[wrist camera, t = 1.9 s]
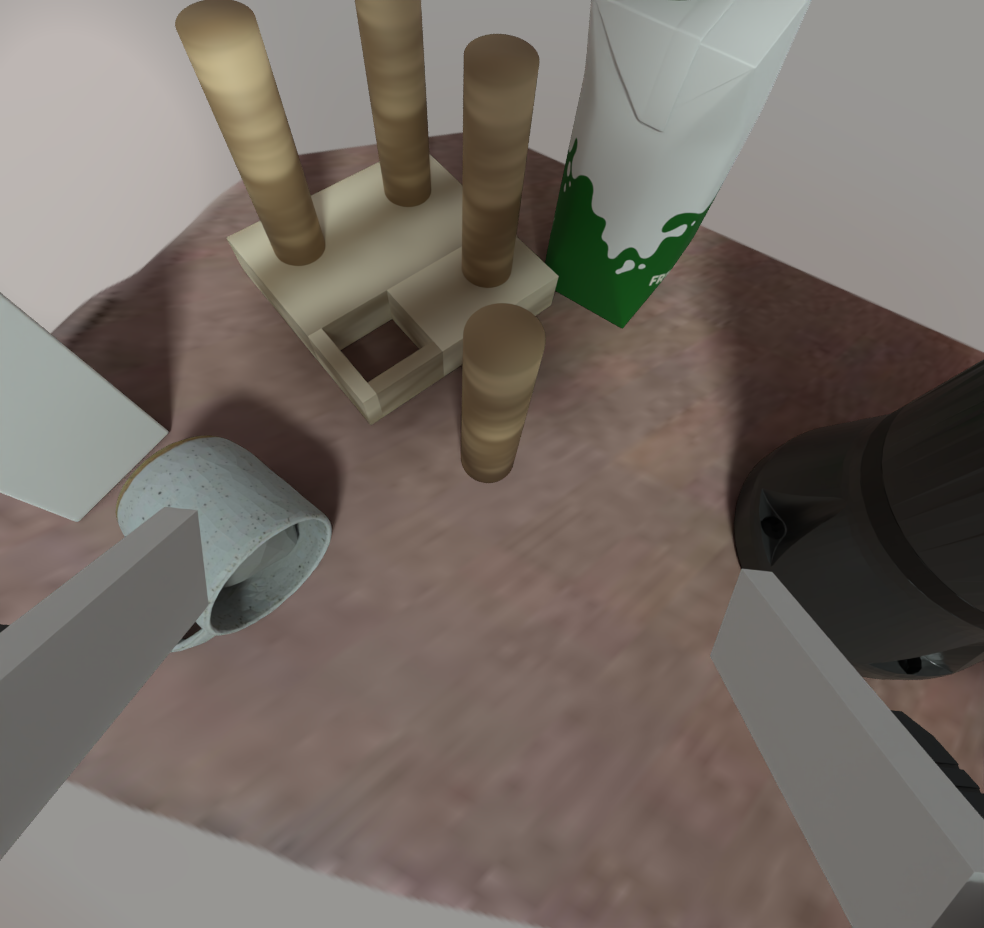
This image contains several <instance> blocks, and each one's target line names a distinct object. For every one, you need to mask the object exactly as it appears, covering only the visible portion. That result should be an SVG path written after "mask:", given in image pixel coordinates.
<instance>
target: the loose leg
mask: <svg viewBox="0 0 984 928" xmlns="http://www.w3.org/2000/svg"><path fill="white" fill-rule="evenodd" d="M545 342H546V336H545V331H544V328H543V326H542V324H541V323H540V321H539V320H538V319H537V318H536V316H535V315H533V314H532V313H531V312H530V311H528V310H526V309H524V308H523V307H520V306H517V305H514V304H508V303H496V304H491V305H487V306H485V307H482V308H480V309H479V310H477V311H476V312H474V313H473V314H472V315H471V316H470V318H469V319H468V321H467V322H466V324H465V327H464V331H463V370H462V438H461V462H462V466H463V468H464V470H465V471H466V473H467V474H468V475H469V476H470V477H471V478H473V479H475V480H477V481H479V482H483V483H493V482H497V481H500V480H502V479H503V478H505V477H506V476H507V475H508V474H509V472H510V471H511V469H512V467H513V464H514V460H515V456H516V452H517V449H518V445H519V441H520V437H521V434H522V430H523V426H524V422H525V419H526V415H527V411H528V408H529V404H530V400H531V396H532V393H533V389H534V385H535V381H536V378H537V374H538V370H539V366H540V363H541V359H542V355H543V352H544V348H545Z"/></svg>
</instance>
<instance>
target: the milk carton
mask: <svg viewBox="0 0 984 928" xmlns="http://www.w3.org/2000/svg"><path fill="white" fill-rule="evenodd" d="M168 433H169V432H168V430H167V429H165V428H164V427H163V426H162V425H160V424H159V423H158V422H157V421H156V420H154V419H153V418H152V417H151V416H150V415H148V414H147V413H146V412H145V411H144V410H142V409H141V408H140V407H139V406H137V405H136V404H135V403H134V402H133V401H131V400H130V399H129V398H128V397H127V396H125V395H124V394H123V393H122V392H120V391H119V390H118V389H117V388H116V387H114V386H113V385H112V384H111V383H110V382H108V381H107V380H106V379H105V378H103V377H102V376H101V375H100V374H99V373H97V372H96V371H95V370H94V369H93V368H91V367H90V366H89V365H88V364H86V363H85V362H84V361H83V360H82V359H80V358H79V357H78V356H77V355H76V354H74V353H73V352H72V351H71V350H70V349H68V348H67V347H66V346H65V345H63V344H62V343H61V342H60V341H59V340H57V339H56V338H55V337H54V336H53V335H51V334H50V333H49V332H48V331H46V330H45V329H44V328H43V327H41V326H40V325H39V324H38V323H37V322H36V321H34V320H33V319H32V318H31V317H29V316H28V315H27V314H26V313H25V312H23V311H22V310H21V309H20V308H18V307H17V306H16V305H15V304H13V303H12V302H11V301H10V300H9V299H8V298H6V297H5V296H4V295H3V294H2V293H0V492H1V493H3V494H6V495H8V496H11V497H14V498H16V499H19V500H21V501H24V502H26V503H29V504H32V505H34V506H37V507H39V508H42V509H44V510H47V511H50V512H52V513H55V514H57V515H60V516H63V517H65V518H68V519H70V520H73V521H76V522H78V521H80V520H81V519H82V518H83V517H84V516H85V515H86V514H87V513H88V512H89V511H90V510H91V509H92V508H93V507H94V506H95V505H96V504H97V503H98V502H99V501H100V500H101V499H102V498H103V497H104V496H105V495H106V494H107V493H108V492H109V491H110V490H111V489H112V488H113V487H114V486H115V485H116V484H117V483H118V482H119V481H120V480H122V479H123V478H124V477H125V476H126V475H127V474H128V473H129V472H130V471H131V470H132V469H133V468H134V467H135V466H136V465H137V464H138V463H139V462H140V461H141V460H142V459H143V458H144V457H145V456H146V455H147V454H148V453H149V452H150V451H151V450H152V449H153V448H154V447H155V446H156V445H157V444H158V443H159V442H160V441H161V440H162V439H163V438H164V437H165V436H166V435H167V434H168Z"/></svg>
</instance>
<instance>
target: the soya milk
mask: <svg viewBox="0 0 984 928" xmlns="http://www.w3.org/2000/svg"><path fill="white" fill-rule="evenodd" d="M810 3H811V0H591V10H590V20H589V33H588V44H587V56H586V66H585V74H584V78H583V83H582V88H581V93H580V98H579V102H578V107H577V112H576V116H575V121H574V126H573V131H572V135H571V140H570V145H569V150H568V154H567V159H566V164H565V168H564V173H563V178H562V183H561V187H560V192H559V197H558V202H557V206H556V211H555V216H554V221H553V225H552V230H551V235H550V240H549V245H548V250H547V255H546V260H545V264H546V265H547V266H548V267H549V268H550V269H551V270H553V271H554V272H555V273H556V274H557V275H558V276H559V277H558V281H557V284H556V288H555V291H557V292H558V293H560V294H562V295H564V296H565V297H567V298H569V299H571V300H572V301H574V302H576V303H578V304H579V305H581V306H583V307H585V308H587V309H588V310H590V311H592V312H594V313H595V314H597V315H599V316H601V317H602V318H604V319H606V320H608V321H609V322H611V323H613V324H615V325H617V326H618V327H620V328H622V329H623V327H624V326H625V325H626V324H627V323H628V321H629V320H630V319H631V318H632V317H633V315H634V314H635V313H636V312H637V311H638V309H639V308H640V307H641V306H642V305H643V303H644V302H645V301H646V300H647V299H648V297H649V296H650V295H651V294H652V293H653V291H654V290H655V289H656V288H657V287H658V285H659V284H660V283H661V282H662V281H663V279H664V278H665V277H666V276H667V274H668V273H669V272H670V271H671V269H672V268H673V266H674V265H675V263H676V262H677V261H678V259H679V258H680V256H681V255H682V253H683V252H684V251H685V249H686V248H687V246H688V245H689V243H690V242H691V240H692V239H693V237H694V235H695V234H696V232H697V230H698V228H699V226H700V224H701V223H702V221H703V219H704V217H705V215H706V213H707V211H708V210H709V208H710V206H711V204H712V202H713V201H714V199H715V197H716V195H717V193H718V191H719V190H720V188H721V186H722V184H723V182H724V180H725V178H726V177H727V175H728V173H729V171H730V169H731V167H732V165H733V164H734V162H735V160H736V158H737V156H738V154H739V153H740V151H741V149H742V147H743V145H744V143H745V141H746V139H747V137H748V136H749V134H750V132H751V130H752V128H753V126H754V124H755V122H756V121H757V118H758V117H759V115H760V113H761V111H762V109H763V106H764V104H765V102H766V100H767V98H768V96H769V94H770V91H771V89H772V87H773V85H774V82H775V80H776V78H777V76H778V74H779V71H780V69H781V67H782V65H783V62H784V60H785V58H786V56H787V53H788V51H789V49H790V47H791V45H792V42H793V40H794V38H795V36H796V33H797V31H798V29H799V27H800V24H801V22H802V20H803V18H804V15H805V13H806V11H807V9H808V7H809V5H810Z"/></svg>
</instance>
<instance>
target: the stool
mask: <svg viewBox="0 0 984 928" xmlns="http://www.w3.org/2000/svg"><path fill="white" fill-rule="evenodd" d="M355 4H356V11H357V17H358V24H359V30H360V37H361V43H362V50H363V57H364V63H365V69H366V76H367V82H368V89H369V96H370V102H371V108H372V115H373V122H374V128H375V135H376V141H377V148H378V154H379V161H380V162H378V163H376V164H374V165H372V166H370V167H368V168H366V169H364V170H362V171H360V172H358V173H356V174H354V175H352V176H350V177H348V178H346V179H344V180H342V181H340V182H338V183H336V184H334V185H332V186H330V187H328V188H326V189H324V190H322V191H320V192H318V193H316V194H314V195H310V192H309V188H308V185H307V182H306V179H305V175H304V172H303V169H302V166H301V163H300V159H299V156H298V153H297V150H296V146H295V143H294V140H293V137H292V134H291V131H290V127H289V124H288V121H287V118H286V115H285V111H284V108H283V105H282V101H281V98H280V95H279V92H278V88H277V85H276V82H275V79H274V76H273V72H272V70H271V66H270V63H269V59H268V56H267V53H266V50H265V46H264V43H263V40H262V37H261V34H260V30H259V27H258V24H257V21H256V18H255V15H254V13H253V11H252V10H251V9H250V8H249V7H247V6H246V5H244V4H242V3H240V2H237V1H234V0H203V1H199V2H196V3H194V4H192V5H189V6H188V7H187V8H185V9H184V10H182V11H181V12H180V13H179V15H178V16H177V18H176V22H175V26H176V30H177V32H178V34H179V36H180V39H181V41H182V43H183V45H184V48H185V50H186V52H187V55H188V57H189V59H190V62H191V63H192V66H193V68H194V70H195V73H196V75H197V77H198V80H199V82H200V84H201V87H202V89H203V91H204V93H205V95H206V98H207V100H208V102H209V105H210V107H211V109H212V112H213V114H214V116H215V118H216V121H217V123H218V125H219V128H220V130H221V132H222V134H223V137H224V139H225V141H226V143H227V146H228V148H229V150H230V152H231V155H232V157H233V159H234V162H235V164H236V166H237V168H238V171H239V173H240V175H241V178H242V180H243V182H244V184H245V187H246V189H247V191H248V194H249V196H250V198H251V200H252V203H253V205H254V207H255V209H256V212H257V214H258V216H259V219H260V221H259V222H257V223H255V224H253V225H251V226H249V227H247V228H245V229H243V230H241V231H239V232H237V233H235V234H233V235H231V236H229V237H227V240H228V242H229V244H230V246H231V248H232V249H233V251H234V253H235V255H236V257H237V259H238V261H239V263H240V264H241V266H242V268H243V270H244V271H245V272H246V274H247V275H248V276H249V277H250V278H251V280H252V281H253V282H254V283H255V285H256V286H257V287H258V288H259V289H260V291H261V292H262V293H263V294H264V296H265V297H266V298H267V299H268V300H269V302H270V303H271V304H272V305H273V307H274V308H275V309H276V310H277V311H278V313H279V314H280V315H281V316H282V318H283V319H284V320H285V321H286V322H287V324H288V325H289V326H290V327H291V329H292V330H293V331H294V332H295V333H296V335H297V336H298V337H299V338H300V340H301V341H302V342H303V343H304V344H305V346H306V347H307V348H308V349H309V351H310V352H311V353H312V354H313V355H314V357H315V358H316V359H317V360H318V361H319V363H320V364H321V365H322V366H323V368H324V369H325V370H326V371H327V372H328V374H329V375H330V376H331V377H332V379H333V380H334V381H335V382H336V383H337V385H338V386H339V387H340V388H341V390H342V391H343V392H344V393H345V394H346V396H347V397H348V398H349V399H350V401H351V402H352V403H353V404H354V405H355V407H356V408H357V409H358V410H359V412H360V413H361V414H362V415H363V416H364V418H365V419H366V420H367V421H368V423H369V424H370V425H372V424H374V423H375V422H377V421H378V420H380V419H381V418H383V417H384V416H386V415H387V414H389V413H390V412H392V411H393V410H395V409H396V408H398V407H399V406H401V405H402V404H404V403H405V402H407V401H408V400H410V399H411V398H413V397H414V396H416V395H417V394H419V393H420V392H422V391H423V390H425V389H426V388H428V387H429V386H431V385H432V384H434V383H435V382H437V381H438V380H440V379H441V378H443V377H444V376H446V375H447V374H449V373H450V372H452V371H453V370H455V369H456V368H458V367H459V366H461V365H462V364H463V331H464V327H465V324H466V322H467V321H468V319H469V318H470V316H471V315H472V314H473V313H474V312H476V311H477V310H479V309H480V308H482V307H485V306H487V305H491V304H496V303H508V304H514V305H517V306H520V307H523V308H524V309H526V310H528V311H530V312H531V313H532V314H533V315H535V316H536V315H537V314H539V313H540V312H542V311H543V310H545V309H546V308H548V307H549V306H551V304H552V300H553V296H554V292H555V288H556V284H557V281H558V277H559V276H558V275H557V274H556V273H555V272H554V271H553V270H551V269H550V268H549V267H548V266H547V265H546V264H545V263H544V262H543V261H542V260H541V259H540V258H539V257H538V256H537V255H536V254H535V253H534V252H532V251H531V250H530V249H529V248H528V247H527V246H526V245H525V244H524V243H523V242H522V241H521V240H520V239H519V238H518V237H517V236H516V233H517V226H518V218H519V211H520V203H521V196H522V188H523V181H524V173H525V166H526V158H527V151H528V143H529V136H530V128H531V121H532V113H533V106H534V98H535V90H536V83H537V76H538V69H539V56H538V53H537V52H536V50H535V49H534V47H533V46H531V45H530V44H529V43H528V42H526V41H524V40H522V39H520V38H518V37H515V36H510V35H506V34H490V35H485V36H481V37H478V38H476V39H474V40H473V41H471V42H470V43H469V44H468V45H467V47H466V48H465V51H464V85H463V86H464V87H463V185H462V184H461V183H460V182H458V181H457V180H456V179H455V178H454V177H453V176H452V175H451V174H450V173H449V172H448V171H447V170H446V169H445V168H444V167H443V166H442V165H441V164H439V163H438V162H437V161H436V160H435V159H434V158H433V157H432V156H431V155H430V154H429V138H428V121H427V102H426V87H425V86H426V84H425V66H424V50H423V49H424V48H423V31H422V12H421V0H355ZM391 319H393V321H394V322H395V323H396V324H397V325H398V326H399V327H400V328H401V329H402V331H403V332H404V333H405V334H406V335H407V336H408V337H409V338H410V339H411V341H412V342H413V343H414V344H415V345H416V346H417V347H418V348H419V350H418V351H416V352H415V353H413V354H412V355H410V356H408V357H407V358H405V359H404V360H402V361H401V362H399V363H397V364H396V365H394V366H393V367H391V368H390V369H388V370H386V371H385V372H383V373H382V374H380V375H379V376H377V377H375V378H374V379H372V380H371V381H369V382H368V383H367V382H366V381H365V379H364V378H363V377H362V376H361V375H360V374H359V372H358V371H357V370H356V369H355V368H354V366H353V365H352V364H351V363H350V362H349V360H348V359H347V358H346V357H345V356H344V355H343V353H342V352H341V351H340V350H342V349H343V348H345V347H347V346H348V345H350V344H352V343H353V342H355V341H357V340H358V339H360V338H362V337H363V336H365V335H367V334H368V333H370V332H372V331H373V330H375V329H376V328H378V327H380V326H381V325H383V324H385V323H386V322H388V321H390V320H391Z"/></svg>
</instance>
